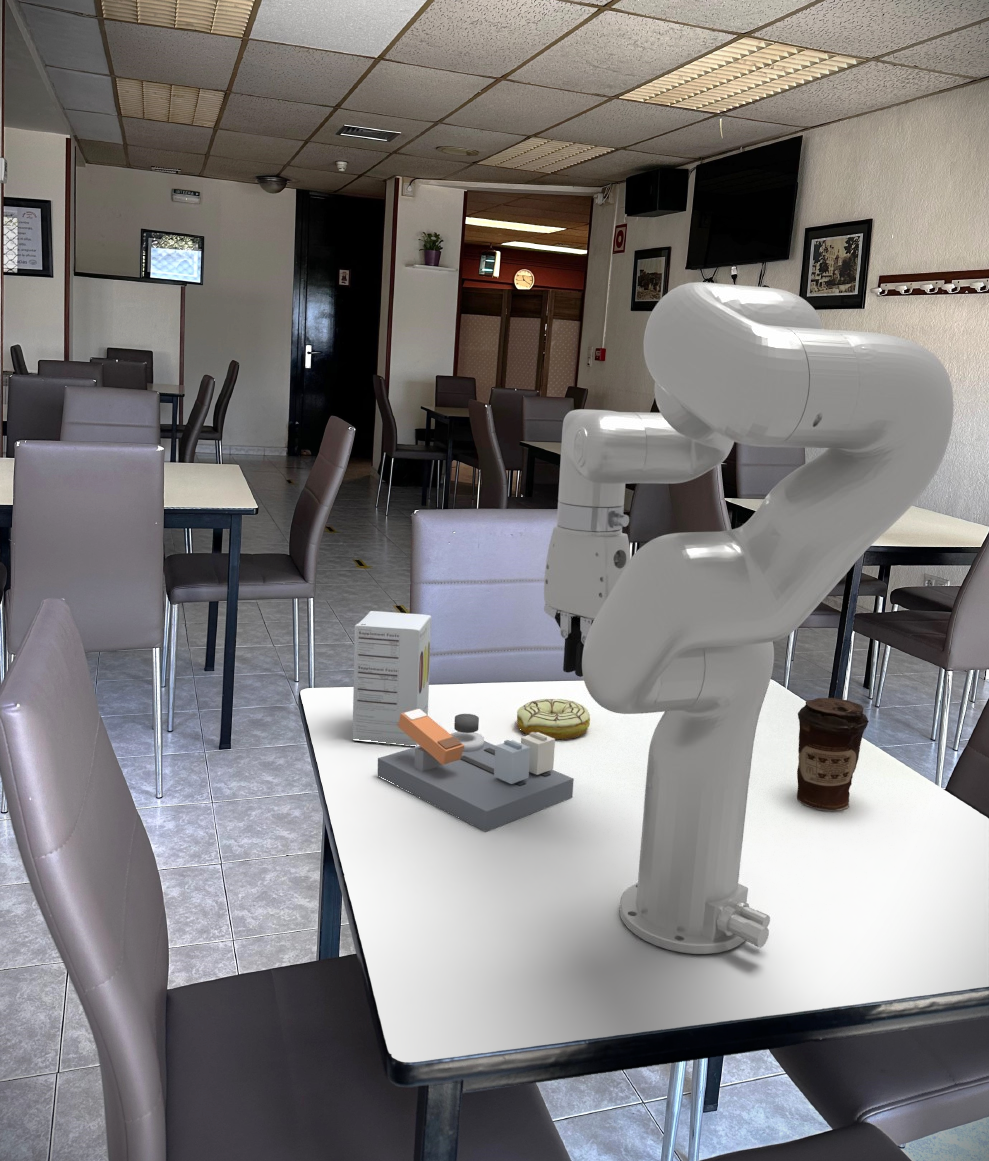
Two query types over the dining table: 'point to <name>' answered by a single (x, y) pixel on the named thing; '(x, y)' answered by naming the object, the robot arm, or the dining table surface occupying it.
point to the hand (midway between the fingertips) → (579, 671)
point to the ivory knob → (540, 752)
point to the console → (473, 784)
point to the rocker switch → (431, 736)
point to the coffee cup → (828, 751)
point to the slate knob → (511, 761)
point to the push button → (466, 723)
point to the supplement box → (389, 673)
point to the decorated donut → (553, 718)
